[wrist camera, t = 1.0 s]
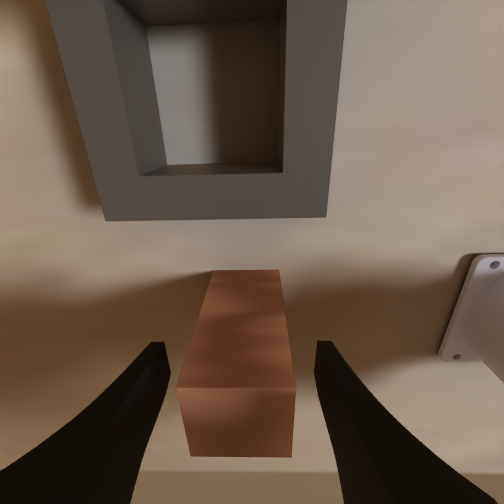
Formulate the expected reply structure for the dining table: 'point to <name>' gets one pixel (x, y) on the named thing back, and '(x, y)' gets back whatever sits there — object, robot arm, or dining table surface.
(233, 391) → the peg
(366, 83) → the dining table surface
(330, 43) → the socket
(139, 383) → the robot arm
